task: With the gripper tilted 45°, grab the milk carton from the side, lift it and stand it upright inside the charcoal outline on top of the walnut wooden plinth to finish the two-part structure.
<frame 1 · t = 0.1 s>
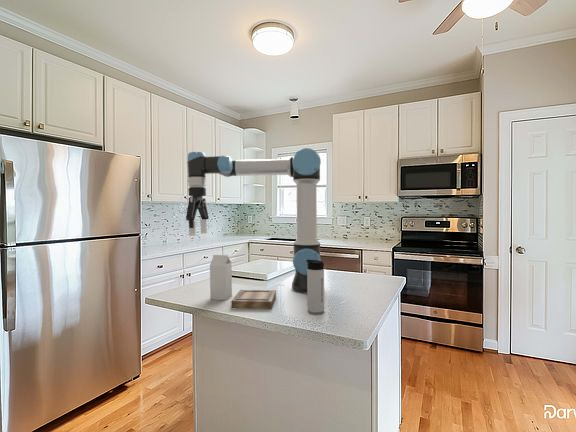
hand: (198, 234, 138), 28 cm above the countertop, tool pointing down, fingers open, 13 cm apart
travel mug: (315, 312, 116), on the countertop
milk carton: (221, 298, 136), on the countertop
plinth: (254, 302, 129), on the countertop
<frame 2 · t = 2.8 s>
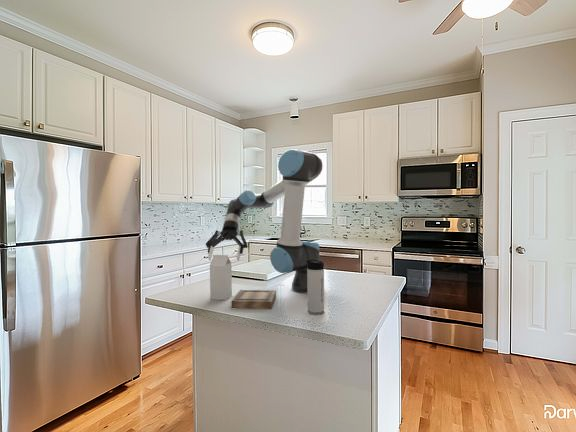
hand: (223, 259, 143), 16 cm above the countertop, tool tilted 45°, fingers open, 13 cm apart
nothing on the countertop moved.
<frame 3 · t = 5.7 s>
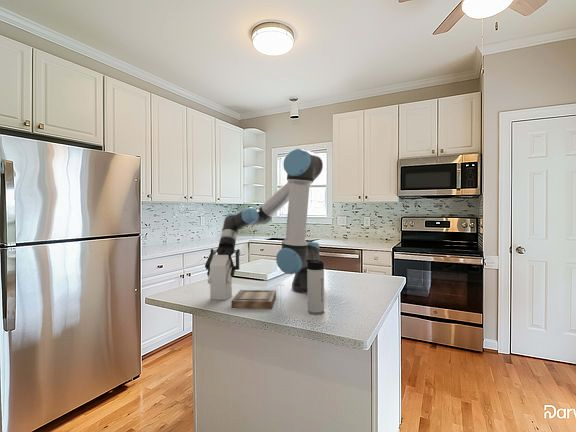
hand: (218, 282, 132), 8 cm above the countertop, tool tilted 45°, fingers closed on milk carton, 8 cm apart
milk carton: (221, 298, 136), on the countertop, touching gripper
everything else where it was.
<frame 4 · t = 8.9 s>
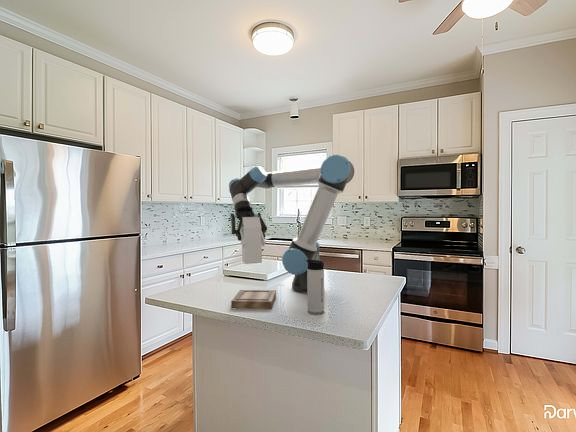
hand: (254, 245, 126), 24 cm above the countertop, tool tilted 45°, fingers closed on milk carton, 8 cm apart
milk carton: (251, 262, 129), point 17 cm above the countertop, touching gripper
everything else where it was.
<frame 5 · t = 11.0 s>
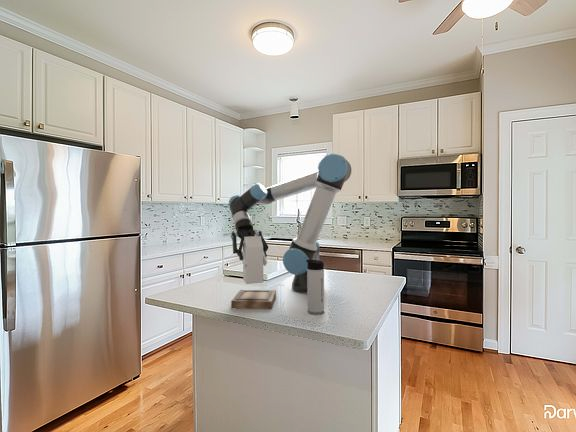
hand: (255, 264, 126), 16 cm above the countertop, tool tilted 45°, fingers closed on milk carton, 8 cm apart
milk carton: (253, 282, 129), point 9 cm above the countertop, touching gripper
everything else where it was.
when the fingers open (12 cm above the countertop, at t = 12.5 s): milk carton drops 1 cm, resting on plinth.
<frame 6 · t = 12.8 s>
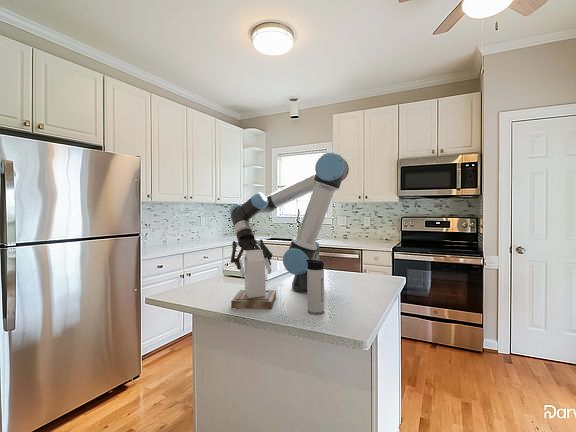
hand: (256, 273, 126), 13 cm above the countertop, tool tilted 45°, fingers open, 11 cm apart
milk carton: (255, 295, 129), point 3 cm above the countertop, touching plinth
everything else where it was.
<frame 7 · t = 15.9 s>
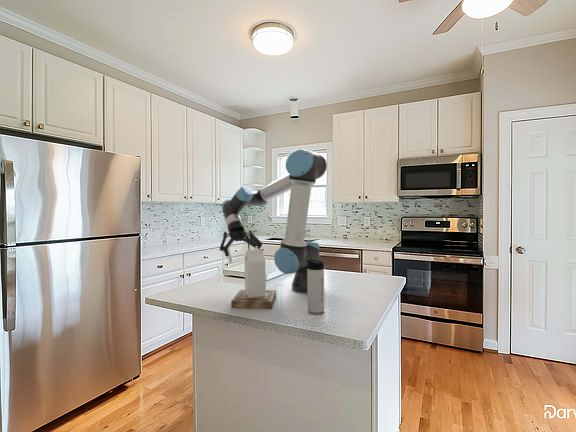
hand: (245, 260, 139), 16 cm above the countertop, tool tilted 45°, fingers open, 13 cm apart
nothing on the countertop moved.
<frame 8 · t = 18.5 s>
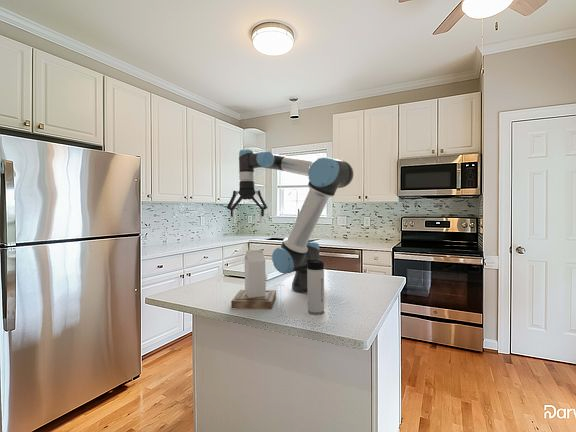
hand: (247, 223, 155), 32 cm above the countertop, tool pointing down, fingers open, 13 cm apart
nothing on the countertop moved.
at the end: milk carton 0.2 cm off-centre on the plinth, point 2.8 cm above the plinth's base; milk carton tilted 0°; the gripper is holding nothing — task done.
